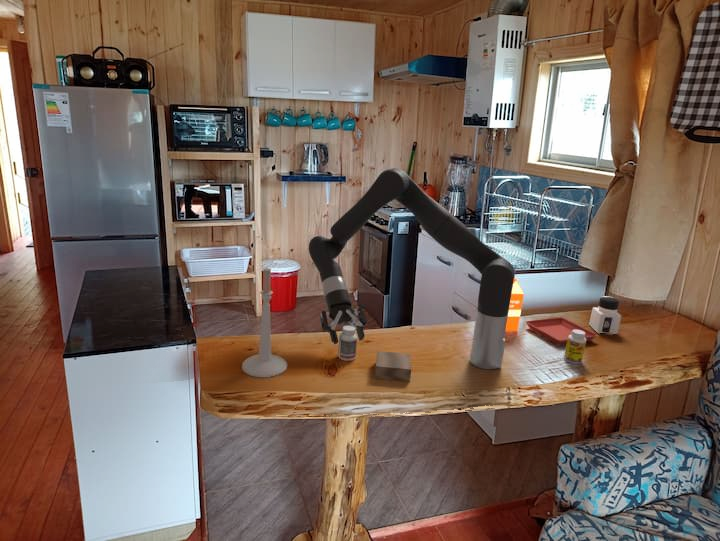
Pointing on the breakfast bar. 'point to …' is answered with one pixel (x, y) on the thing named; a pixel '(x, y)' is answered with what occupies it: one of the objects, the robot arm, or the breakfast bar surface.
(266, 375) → the grey pole stand
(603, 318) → the container
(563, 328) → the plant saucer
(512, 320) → the orange juice
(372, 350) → the breakfast bar surface
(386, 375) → the walnut base
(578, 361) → the supplement bottle
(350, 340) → the pill bottle
